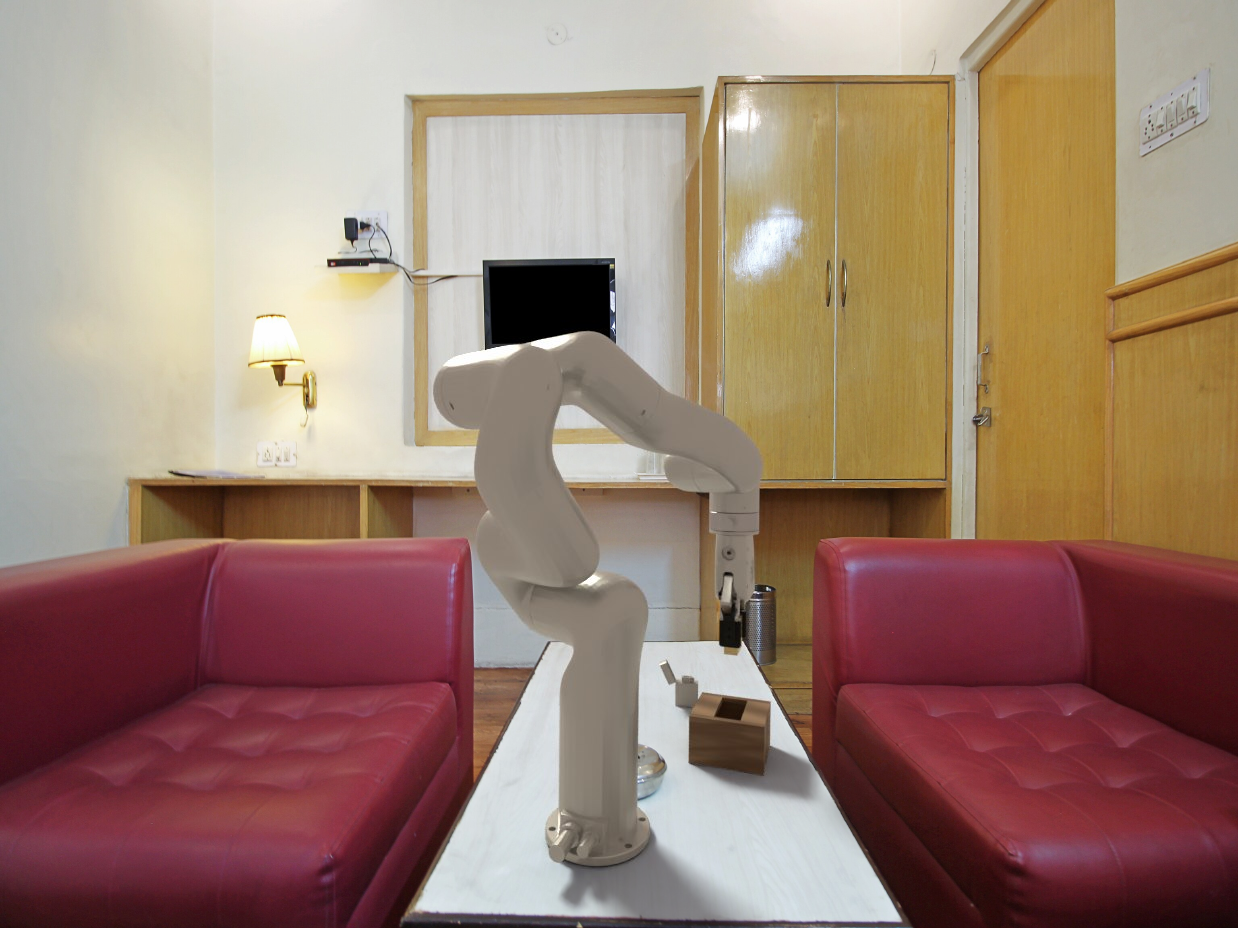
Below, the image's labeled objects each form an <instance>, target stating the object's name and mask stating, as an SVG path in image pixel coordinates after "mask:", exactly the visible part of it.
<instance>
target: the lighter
mask: <svg viewBox="0 0 1238 928" xmlns="http://www.w3.org/2000/svg"><path fill="white" fill-rule="evenodd" d="M659 667H660V669H661V671H662V673H663V675H664V678H665V680H666V681H667V684H668V685H669V686H670V685H673V684H675V686H674V688H675V690H674V691H675V695H674V696H675V697H674V699H675V701H674V705H675V707H683V708H684V707H685V708H694V706H695V704H696V702H697V701H698V699H699V680H695V677H693V676H692V675H685V674H681V679H678V678H676V677H675V675H674V672H673V669H672V667H671V665H670V663H669V661H668V659H664V660H662V661H660V662H659Z"/></svg>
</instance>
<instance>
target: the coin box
mask: <svg viewBox="0 0 1238 928" xmlns="http://www.w3.org/2000/svg"><path fill="white" fill-rule="evenodd" d="M771 705H772V704H771V701H770V700H763V699H754V698H747V697H741V696H732V695H727V694H726V695H725V694H720V693H719V694H718V693H711V692H704V691H702V692H701V693H700V696H698V701H697V702H696V704H695V706H694V707H692V710H691V712H690V713H689V715H688V760H687V761H688V763H689V764H695V765H700V766H706V767H710V768H711V767H712V768H716V769H717V768H718V769H723V770H729V771H736V772H741V773H748V774H752V775H758V776H764V775H765V772H766V767H767V763H768V758H769V751H770V748H771V711H772V710H771Z"/></svg>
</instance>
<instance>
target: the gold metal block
mask: <svg viewBox="0 0 1238 928" xmlns="http://www.w3.org/2000/svg"><path fill="white" fill-rule="evenodd" d="M739 621H741V647H740V648H729V647H723V655H728V656H738V655H739V653H740V651H741V649H742V647H743V638H742V614H739Z"/></svg>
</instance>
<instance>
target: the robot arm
mask: <svg viewBox="0 0 1238 928" xmlns="http://www.w3.org/2000/svg"><path fill="white" fill-rule="evenodd" d="M441 366H442V367H441V368H440V369H439V370H438V371H437V374H436V376H435V379H434V382H433V385H432V396H433V402H434V404H435V407H436V408H437V410H438V412H439V413H440V414H441V416H442V417H443V418H444V419H445V420H446V421H447V422H449V423H450V424H452V425H454V426H455V427H458V428H460V429H464V430H472V431H473V430H476V431H477V430H478V435H477V441H476V447H475V453H474V461H473V462H474V463H473V473H474V481H475V482H474V483H475V485H476V489H477V491H478V493H479V495H480V497H481V499H482V502H483V503H484V504H485V506H486V508H487V509H488V510H487V511H486V512H485V513H484V514H483V516H481V519H480V520H479V522H478V525H477V528H476V529H477V530H476V535H475V548H476V553H477V557H478V560H479V562H480V564H481V567H482V568H483V570H484V571H485V573H486V574H487V576H488V578H489V579H490V580H491V582H492V584H494V586H495V587H496V589H498V592H499V593H500V594H501V595H502V597H503V598H504V600H505V601H506V602H507V603H508V605H509V606H510V608H511V609H512V610H513V612H514V613H515V615H516V616H517V617H518V618H519V619H520V620H521V622H523V624H524V625H525V626H527V628H528V629H529V630H531V631H532V632H534V633H535V634H538V635H539V636H543V637H545V638H548V639H551V640H554V641H557V642H559V643H564V644H565V645H568V646H570V647H572V649H573V651H572V655H571V658H570V660H569V662H568V664H567V666H566V668H565V670H564V672H563V674H562V677H561V682H560V686H559V702H558V703H559V704H558V705H559V719H558V720H559V721H558V722H559V732H558V733H559V735H558V737H559V738H558V740H559V741H558V743H559V745H558V806H557V808H556V809H554V810H553V811H552V813H550V814H549V816H548V818H547V820H546V823H545V827H544V828H545V829H544V831H545V833H544V834H545V840H546V842H547V845H548V847H549V848H548V856H549V858H550V859H551V860H552V862H554V863H558V864H559V863H562V862H563V861H564V860H566V861H568V862H571V863H574V864H576V865H577V864H578V865H581V866H589V867H605V866H611V865H618V864H620V863H623V862H627V861H628V860H630V859H632V858H634V857H636V856H637V855H639V854H640V853H642V851H643V850H644V849H645V848H646V846H647V845H648V843H649V841H650V836H651V823H650V820H649V817H648V816H647V815H646V813H645V812H644V811H643V810H642V809H641V808H640V807H638V798H639V797H638V796H639V795H638V793H639V792H638V791H639V787H638V786H639V783H638V781H639V710H640V709H639V706H640V705H639V704H640V703H639V697H640V695H639V694H640V693H639V691H640V690H639V689H640V672H641V671H640V668H641V658H642V651H643V647H644V642H645V637H646V633H647V630H648V629H647V628H648V623H649V622H648V621H649V604H648V600H647V596H646V595H645V593H644V592H643V590H642V588H641V587H640V586H639V585H638V584H637V583H636V582H634V581H633V580H632V579H630V578H628V577H627V576H624V575H622V574H618V573H614V572H610V571H605V570H601V569H600V570H599V569H598V566H599V563H600V558H601V553H600V551H601V549H600V544H599V541H598V538H597V536H596V533H595V531H594V529H593V527H592V525H591V523H590V522H589V520H588V518H587V517H586V515H585V514H584V512H583V510H582V509H581V507H580V505H579V504H578V502H577V501H576V498H575V497H574V495H573V494H572V492H571V490H570V489H569V487H568V485H567V484H566V482H565V480H564V477H563V476H562V474H561V472H560V470H559V468H558V467H557V464H556V461H555V458H554V452H553V439H554V431H555V426H556V422H557V418H558V416H559V412H560V409H561V407H563V406H564V407H565V406H575V407H578V408H579V409H581V410H583V411H584V412H585V413H586V414H588V415H589V416H591V417H592V418H593V419H595V420H596V421H597V422H599V423H600V424H601V425H603V426H604V427H605V428H607V429H608V430H609V431H610V432H612V433H613V434H614V435H616V436H617V437H618V438H619V439H620V440H622V441H623V442H624V443H626V444H628V445H629V446H632V447H635V448H638V449H641V450H644V451H647V452H650V453H651V452H652V453H654V454H661V455H665V458H664V461H663V472H664V475H665V477H666V479H667V481H668V482H669V483H670V484H671V485H672V486H673V487H675V488H676V489H678V490H681V491H683V492H690V493H691V492H692V493H706V494H707V493H709V501H708V502H709V505H708V506H709V508H708V509H709V510H708V511H709V515H708V516H709V519H708V521H709V522H708V524H709V526H708V529H709V530H708V533H710V534H712V535H713V534H714V535H715V547H714V549H715V554H714V596H715V598H716V599H717V600H718V601H720V607H719V621H718V622H719V623H718V645H719V647H723V648H724V647H729V648H740V647H741V621H739V614H742V639H744V638H746V636H747V611H746V608H747V606H746V604H747V602H749V600H750V599H751V598H752V596H753V595H754V593H755V590H756V586H755V585H756V580H755V579H756V578H755V546H754V544H755V543H754V536H756V535H759V534H760V482H761V480H762V478H763V473H764V461H763V457H762V454H761V451H760V449H759V447H758V446H757V445H756V443H755V441H754V440H753V439H752V438H751V437H750V436H749V435H748V433H746V432H745V431H744V430H743V429H742V428H741V427H740V426H739V425H738V424H737V423H735V422H734V421H733V420H731V419H730V418H728V417H727V416H725V415H723V414H721V413H719V412H717V411H714V410H713V409H710V408H708V407H705V406H703V405H700V404H698V403H696V402H694V401H691V400H690V399H687V398H684V397H683V396H680V395H678V394H677V395H676V394H674V393H672V392H670V391H668V390H667V389H666V388H664V387H663V386H662V385H661V384H660V383H659V382H658V381H657V380H656V379H655V378H653V377H652V376H651V375H650V374H649V373H648V372H647V371H646V370H645V369H644V368H643V367H641V366H640V365H639V364H638V363H637V362H636V360H634V359H633V358H632V357H631V356H629V355H628V354H627V353H626V352H625V351H624V350H623V349H622V348H621V347H620V346H619V345H618V344H617V343H616V342H614V341H613V340H612V339H610V338H609V337H608V336H606V334H605V335H604V334H602V333H600V332H596V331H590V330H587V331H577V332H573V333H567V334H562V335H557V336H552V337H551V336H550V337H547V338H542V339H538V340H534V341H531V342H526V343H521V344H520V343H518V344H509V345H503V346H499V347H494V348H490V349H486V350H481V351H476V352H470V353H466V354H462V355H458V356H455V357H453V358H451V359H450V360H448V361H447V362H446V363H444V364H443V365H441ZM741 648H742V647H741Z"/></svg>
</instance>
